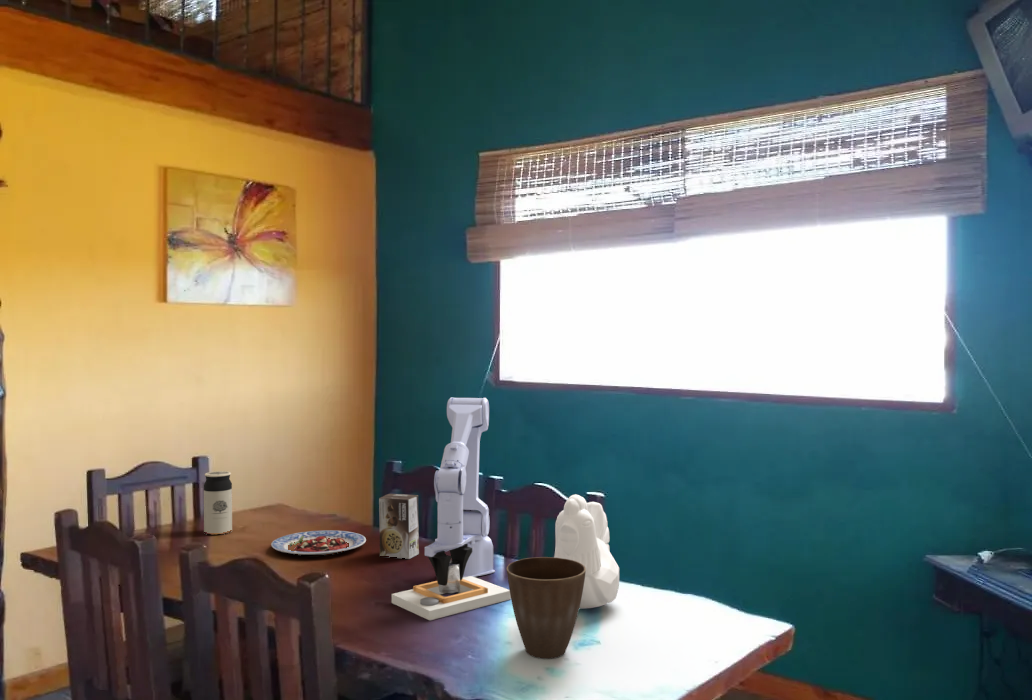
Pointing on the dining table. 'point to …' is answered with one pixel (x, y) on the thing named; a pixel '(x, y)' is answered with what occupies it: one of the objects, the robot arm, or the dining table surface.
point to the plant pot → (546, 602)
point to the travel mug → (217, 502)
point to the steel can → (452, 579)
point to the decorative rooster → (588, 549)
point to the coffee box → (399, 525)
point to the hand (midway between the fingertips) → (450, 581)
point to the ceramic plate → (319, 542)
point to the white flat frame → (450, 598)
